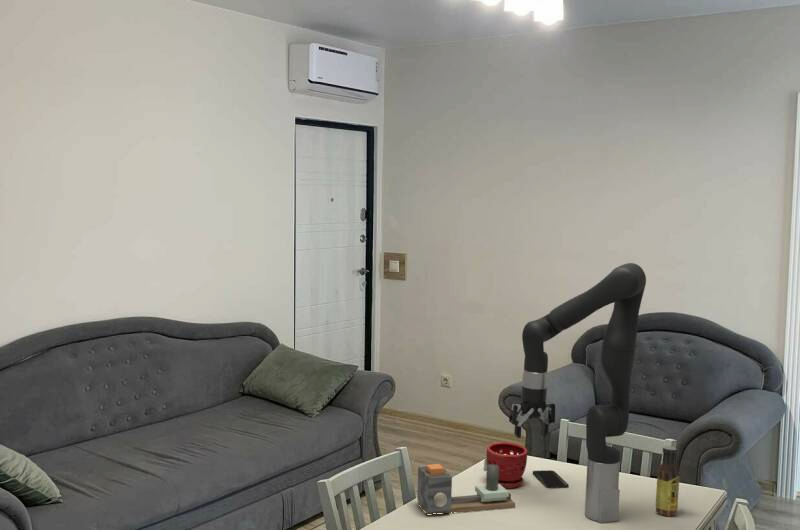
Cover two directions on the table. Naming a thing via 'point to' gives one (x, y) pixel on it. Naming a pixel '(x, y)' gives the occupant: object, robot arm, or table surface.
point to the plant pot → (508, 462)
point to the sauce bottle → (667, 483)
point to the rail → (438, 496)
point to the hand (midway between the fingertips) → (531, 436)
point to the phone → (550, 479)
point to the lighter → (486, 462)
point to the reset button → (434, 469)
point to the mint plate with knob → (492, 486)
